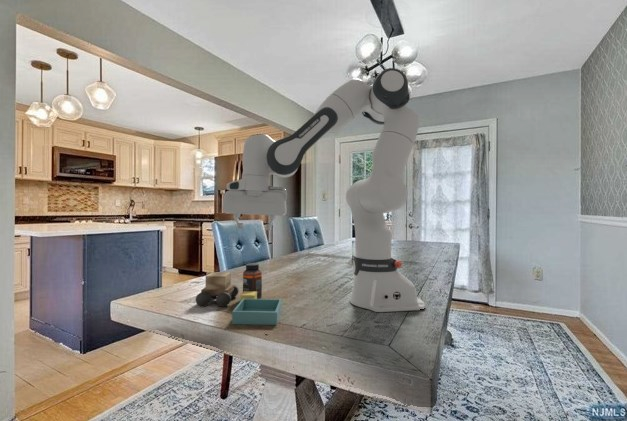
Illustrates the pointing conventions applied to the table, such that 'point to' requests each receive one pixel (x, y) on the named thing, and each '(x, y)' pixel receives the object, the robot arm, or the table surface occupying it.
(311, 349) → the table surface
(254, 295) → the yellow cube
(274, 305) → the tray
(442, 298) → the table surface
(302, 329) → the table surface
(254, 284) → the supplement bottle
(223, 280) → the trolley
